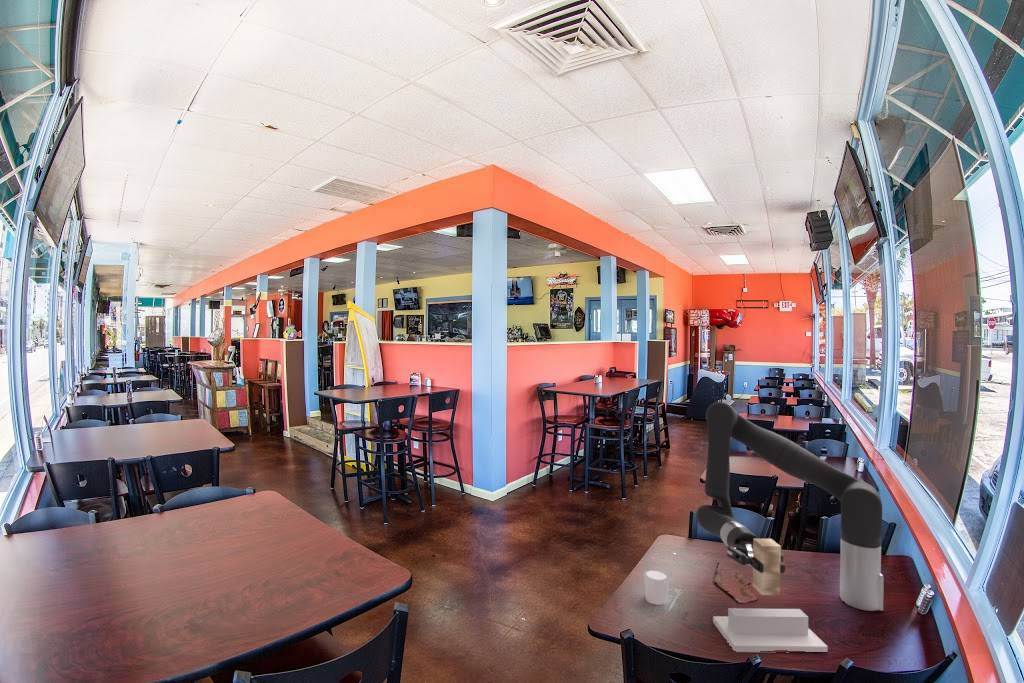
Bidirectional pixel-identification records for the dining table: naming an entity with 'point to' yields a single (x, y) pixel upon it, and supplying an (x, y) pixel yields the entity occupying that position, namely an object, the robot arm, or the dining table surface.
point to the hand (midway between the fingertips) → (772, 568)
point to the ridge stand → (768, 630)
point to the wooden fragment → (719, 579)
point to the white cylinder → (656, 586)
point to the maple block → (767, 566)
